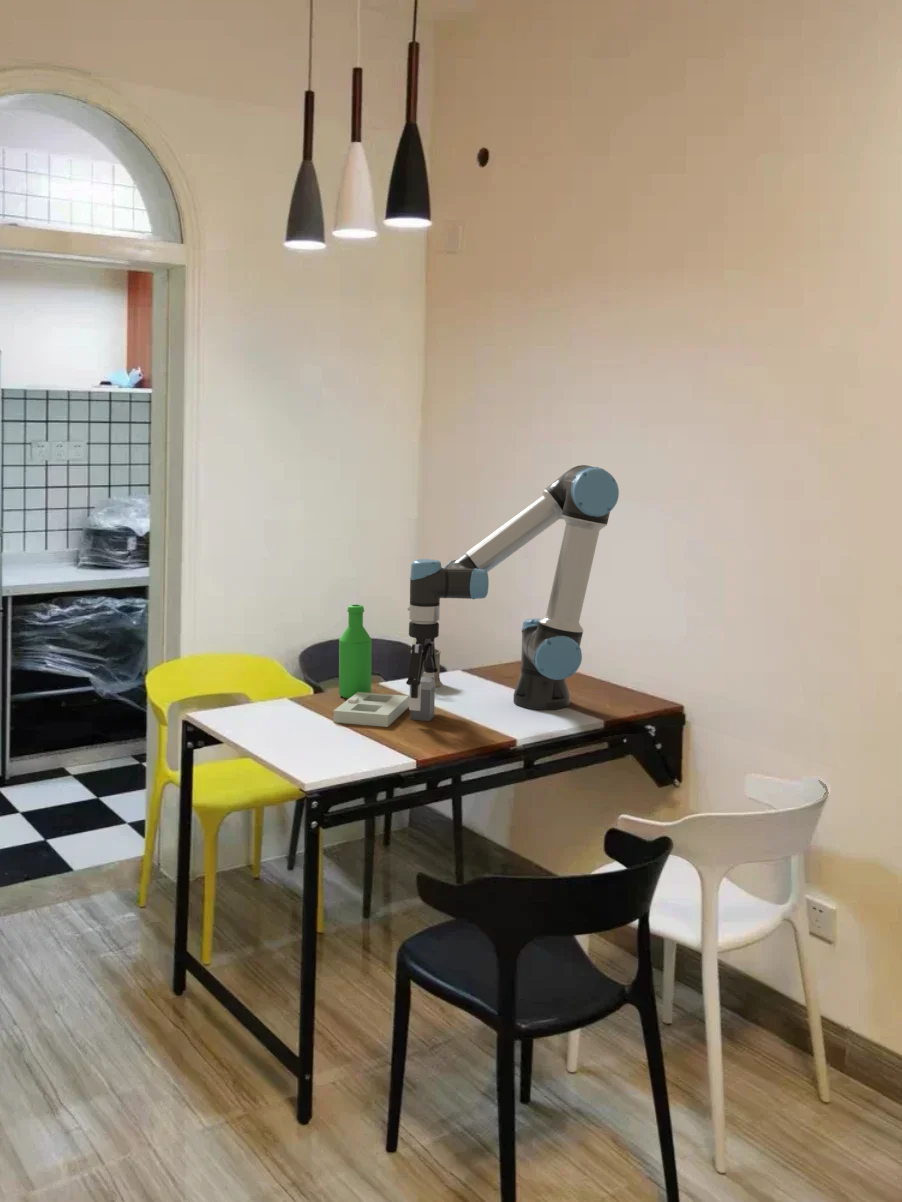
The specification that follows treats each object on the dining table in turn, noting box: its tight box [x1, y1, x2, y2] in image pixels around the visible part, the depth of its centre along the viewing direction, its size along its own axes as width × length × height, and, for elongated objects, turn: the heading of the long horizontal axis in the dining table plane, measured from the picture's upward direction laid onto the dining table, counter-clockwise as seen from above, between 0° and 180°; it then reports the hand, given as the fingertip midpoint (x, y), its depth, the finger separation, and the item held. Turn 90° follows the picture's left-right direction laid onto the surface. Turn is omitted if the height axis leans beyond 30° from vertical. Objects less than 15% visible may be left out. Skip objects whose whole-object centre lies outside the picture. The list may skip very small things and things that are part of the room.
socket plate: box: [333, 692, 410, 728], centre depth 289 cm, size 14×20×4 cm
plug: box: [409, 677, 436, 722], centre depth 287 cm, size 5×5×10 cm
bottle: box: [338, 604, 373, 700], centre depth 306 cm, size 9×9×25 cm
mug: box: [408, 648, 443, 689], centre depth 320 cm, size 14×10×12 cm
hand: (421, 703), depth 287 cm, fingers open, 13 cm apart
